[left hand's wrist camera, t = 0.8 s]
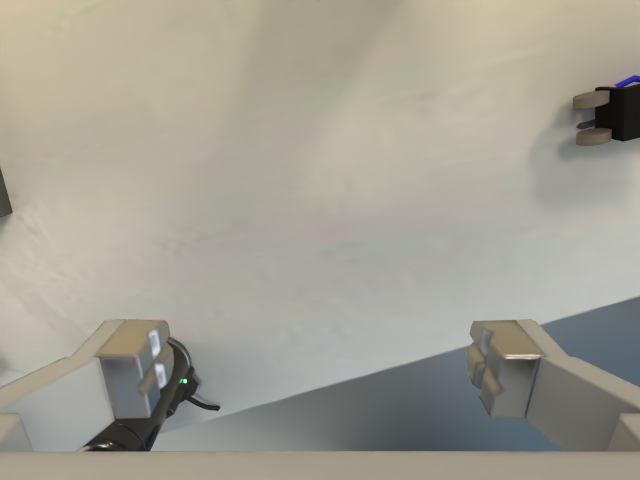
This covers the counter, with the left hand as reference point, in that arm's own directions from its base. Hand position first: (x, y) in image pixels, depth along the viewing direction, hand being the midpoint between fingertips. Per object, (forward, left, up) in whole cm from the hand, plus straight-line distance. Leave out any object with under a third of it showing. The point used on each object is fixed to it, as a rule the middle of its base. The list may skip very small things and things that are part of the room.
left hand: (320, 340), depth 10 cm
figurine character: (-5, +38, -44) cm, 58 cm away
